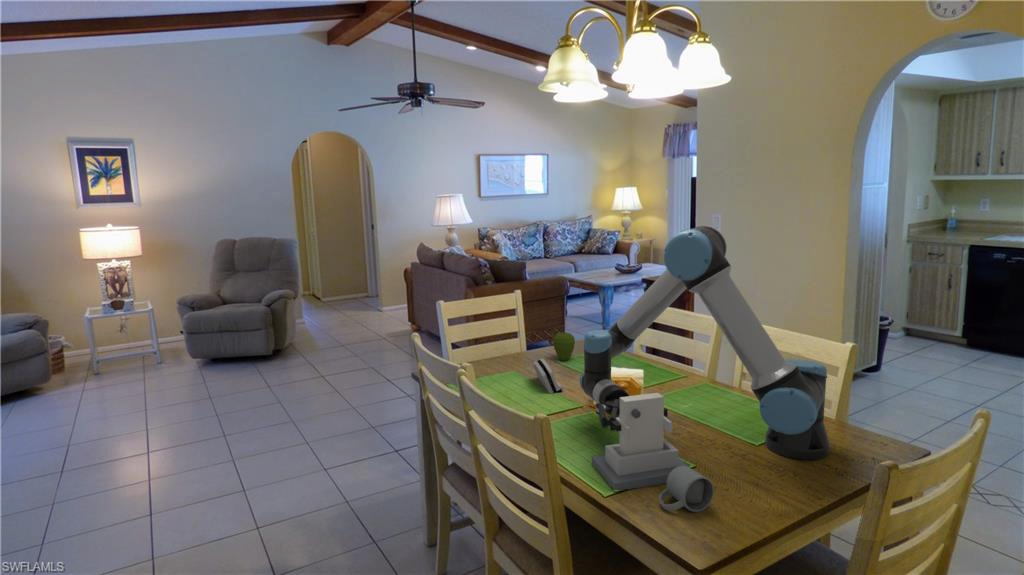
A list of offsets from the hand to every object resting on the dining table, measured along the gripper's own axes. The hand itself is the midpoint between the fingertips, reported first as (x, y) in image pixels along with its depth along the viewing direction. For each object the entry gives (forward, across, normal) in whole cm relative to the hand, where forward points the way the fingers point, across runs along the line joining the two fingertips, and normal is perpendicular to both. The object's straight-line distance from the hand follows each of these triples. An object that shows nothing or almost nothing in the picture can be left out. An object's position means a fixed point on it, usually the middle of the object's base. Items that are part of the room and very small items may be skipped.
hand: (649, 430), depth 140 cm
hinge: (-70, +3, -13) cm, 71 cm away
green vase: (-96, -12, -12) cm, 97 cm away
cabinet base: (-4, 0, -12) cm, 13 cm away
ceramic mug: (+12, -2, -13) cm, 18 cm away
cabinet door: (-4, 0, -8) cm, 9 cm away
